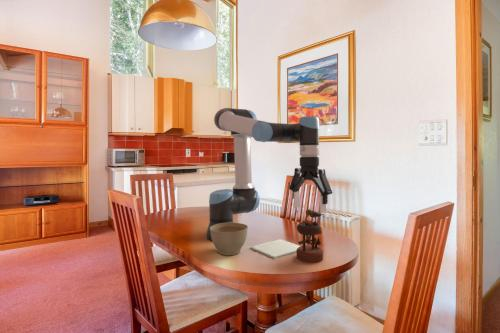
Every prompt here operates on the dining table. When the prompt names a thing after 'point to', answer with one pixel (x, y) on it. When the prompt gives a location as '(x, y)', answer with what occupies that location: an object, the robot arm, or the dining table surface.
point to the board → (276, 248)
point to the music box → (310, 228)
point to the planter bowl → (229, 237)
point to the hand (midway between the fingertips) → (309, 210)
